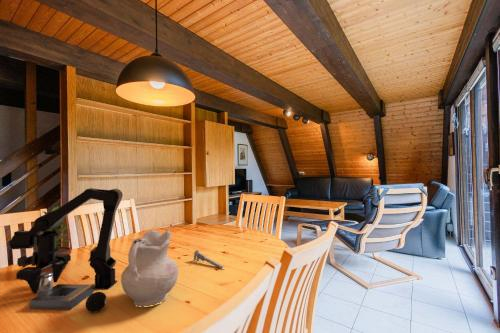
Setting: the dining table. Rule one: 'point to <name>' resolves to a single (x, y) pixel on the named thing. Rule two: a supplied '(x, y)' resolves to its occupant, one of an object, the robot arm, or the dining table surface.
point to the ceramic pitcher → (149, 269)
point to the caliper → (202, 257)
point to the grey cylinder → (45, 281)
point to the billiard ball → (96, 302)
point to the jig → (62, 297)
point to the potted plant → (60, 249)
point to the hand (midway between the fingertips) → (45, 287)
